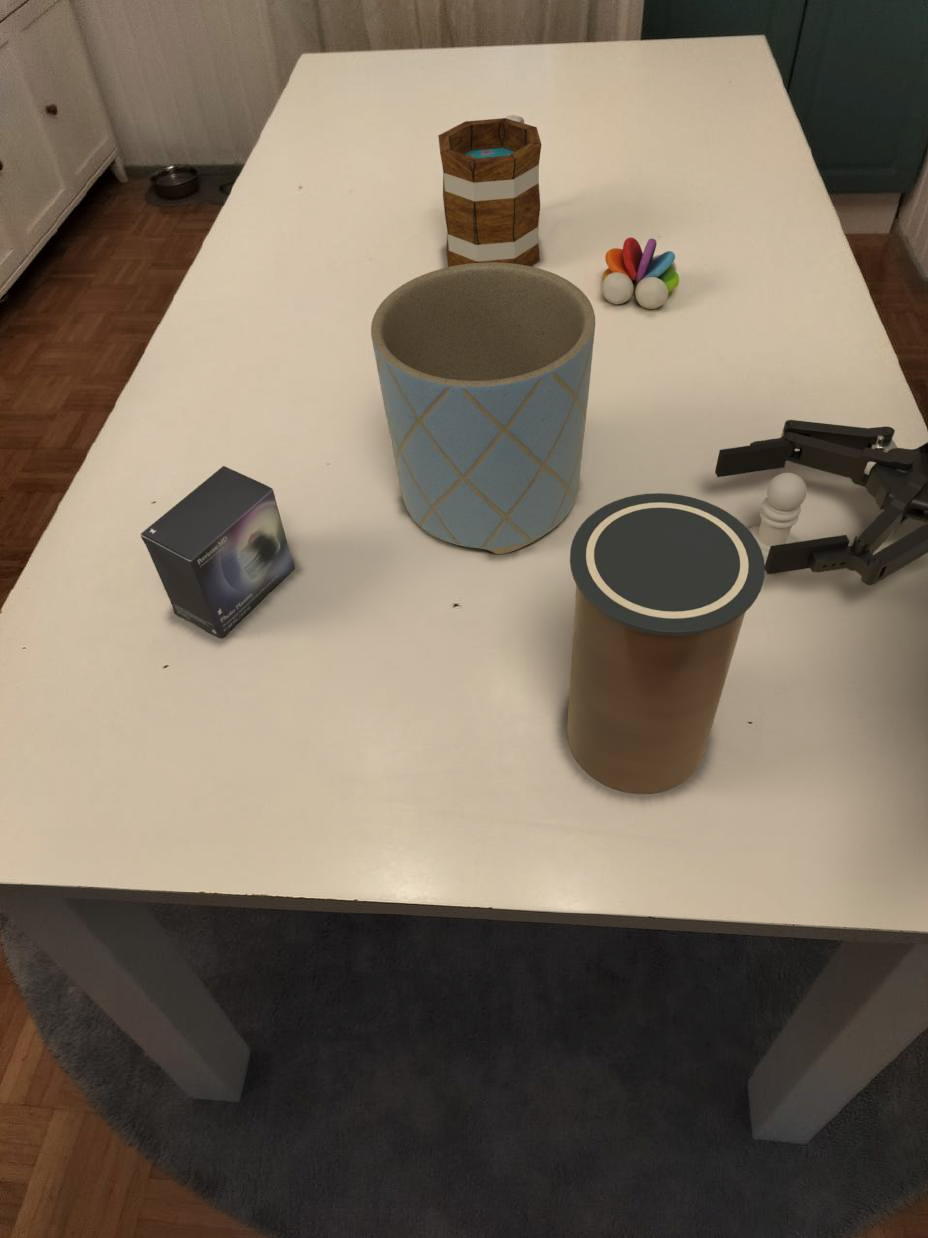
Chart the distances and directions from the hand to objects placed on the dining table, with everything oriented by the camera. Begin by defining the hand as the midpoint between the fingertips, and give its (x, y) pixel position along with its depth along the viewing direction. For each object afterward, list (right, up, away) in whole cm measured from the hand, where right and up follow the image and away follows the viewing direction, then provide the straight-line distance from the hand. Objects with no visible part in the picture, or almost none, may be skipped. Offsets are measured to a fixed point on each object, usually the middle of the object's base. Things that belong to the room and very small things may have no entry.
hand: (742, 509), depth 78 cm
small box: (-46, -7, +5) cm, 47 cm away
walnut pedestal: (-11, -19, -7) cm, 23 cm away
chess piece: (+4, -3, +5) cm, 7 cm away
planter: (-22, +3, +12) cm, 25 cm away
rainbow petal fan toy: (-2, +32, +35) cm, 47 cm away
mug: (-20, +42, +45) cm, 65 cm away
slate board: (-12, -6, -23) cm, 26 cm away
